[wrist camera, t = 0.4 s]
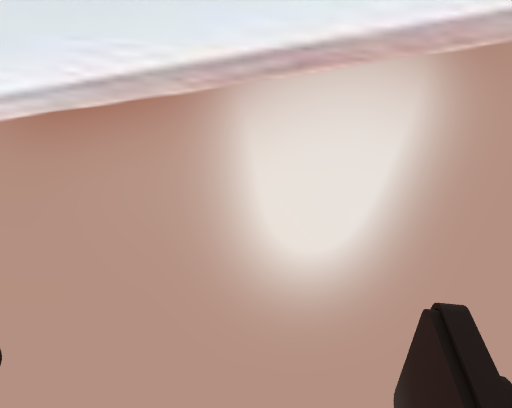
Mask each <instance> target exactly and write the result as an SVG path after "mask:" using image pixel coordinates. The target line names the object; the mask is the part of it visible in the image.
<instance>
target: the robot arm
mask: <svg viewBox="0 0 512 408" xmlns="http://www.w3.org/2000/svg"><path fill="white" fill-rule="evenodd" d="M1 361H2V355H1V350H0V365H1ZM394 408H512V384H511V382H510V381H508V379H506V378H505V377H503V376H500V375H499V373H498V371H497V369H496V367H495V365H494V362H493V360H492V358H491V356H490V354H489V352H488V350H487V348H486V346H485V343H484V341H483V339H482V337H481V335H480V333H479V331H478V328H477V327H476V324H475V322H474V320H473V318H472V316H471V314H470V311H469V310H468V308H467V307H466V306H464V305H454V304H445V303H434V304H433V305H432V307H431V309H424V310H423V312H422V314H421V317H420V320H419V323H418V326H417V329H416V332H415V334H414V337H413V341H412V343H411V346H410V349H409V352H408V355H407V358H406V361H405V363H404V366H403V369H402V372H401V375H400V378H399V381H398V384H397V387H396V389H395V393H394Z"/></svg>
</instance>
